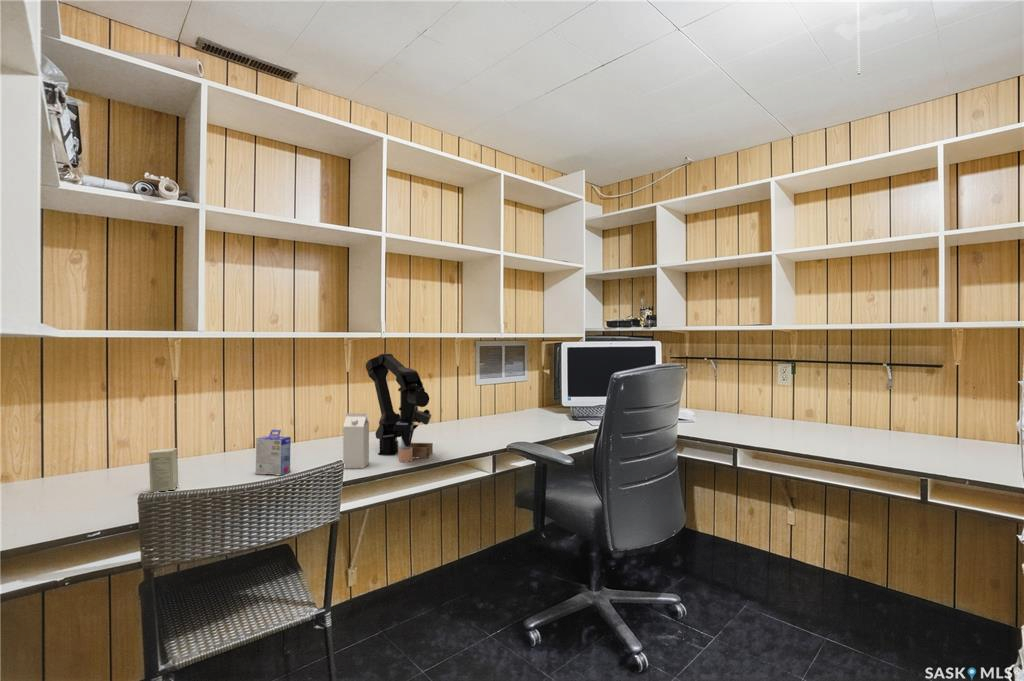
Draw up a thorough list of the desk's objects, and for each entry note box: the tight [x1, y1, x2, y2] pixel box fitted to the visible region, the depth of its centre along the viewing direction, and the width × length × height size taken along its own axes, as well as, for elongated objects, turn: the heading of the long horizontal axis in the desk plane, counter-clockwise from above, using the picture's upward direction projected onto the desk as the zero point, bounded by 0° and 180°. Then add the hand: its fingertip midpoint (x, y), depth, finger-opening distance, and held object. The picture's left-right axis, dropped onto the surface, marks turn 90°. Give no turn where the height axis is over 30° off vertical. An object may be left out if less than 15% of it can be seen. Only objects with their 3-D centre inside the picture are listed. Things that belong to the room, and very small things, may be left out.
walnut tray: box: [408, 442, 433, 459], centre depth 195 cm, size 10×8×4 cm
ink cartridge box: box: [255, 429, 292, 476], centre depth 170 cm, size 10×6×14 cm, turn 80°
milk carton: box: [342, 412, 370, 469], centre depth 179 cm, size 7×7×19 cm
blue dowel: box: [400, 437, 408, 449], centre depth 187 cm, size 4×2×8 cm
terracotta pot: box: [397, 446, 414, 463], centre depth 187 cm, size 5×5×5 cm
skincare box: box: [148, 447, 179, 493], centre depth 151 cm, size 6×4×12 cm
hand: (408, 445), depth 187 cm, fingers closed on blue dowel, 2 cm apart
